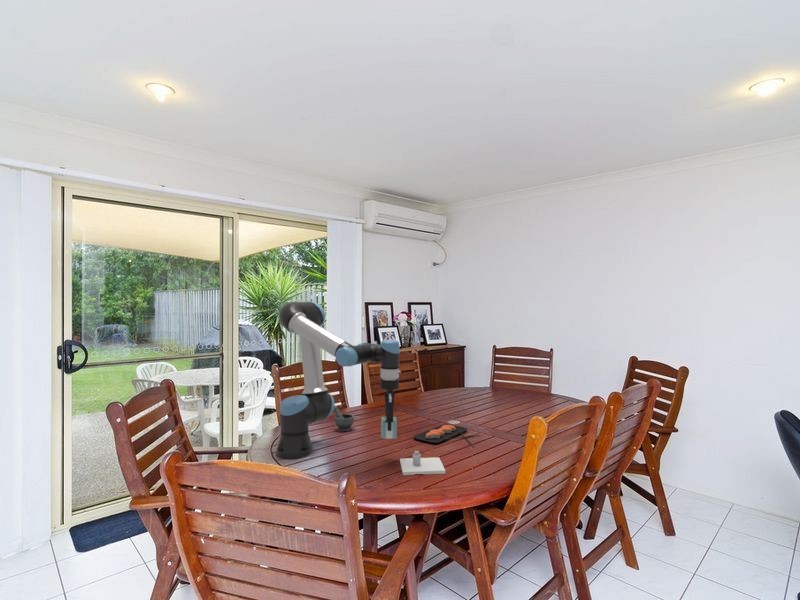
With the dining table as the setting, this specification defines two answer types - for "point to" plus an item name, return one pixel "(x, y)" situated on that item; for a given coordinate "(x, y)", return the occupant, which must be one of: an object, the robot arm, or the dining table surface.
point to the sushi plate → (442, 434)
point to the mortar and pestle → (343, 420)
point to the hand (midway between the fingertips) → (388, 435)
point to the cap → (383, 428)
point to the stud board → (421, 465)
